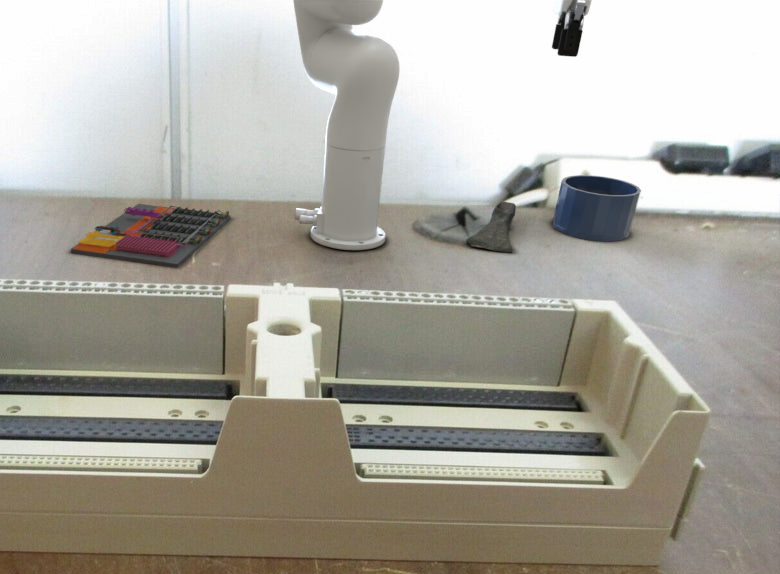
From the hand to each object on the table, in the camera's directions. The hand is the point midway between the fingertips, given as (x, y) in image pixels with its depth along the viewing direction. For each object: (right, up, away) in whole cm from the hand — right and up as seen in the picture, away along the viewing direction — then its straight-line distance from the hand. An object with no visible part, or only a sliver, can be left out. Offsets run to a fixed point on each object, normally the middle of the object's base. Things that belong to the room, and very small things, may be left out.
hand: (563, 52), depth 132 cm
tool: (-10, -31, +2) cm, 33 cm away
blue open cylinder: (+7, -29, +7) cm, 31 cm away
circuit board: (-70, -33, -5) cm, 77 cm away
